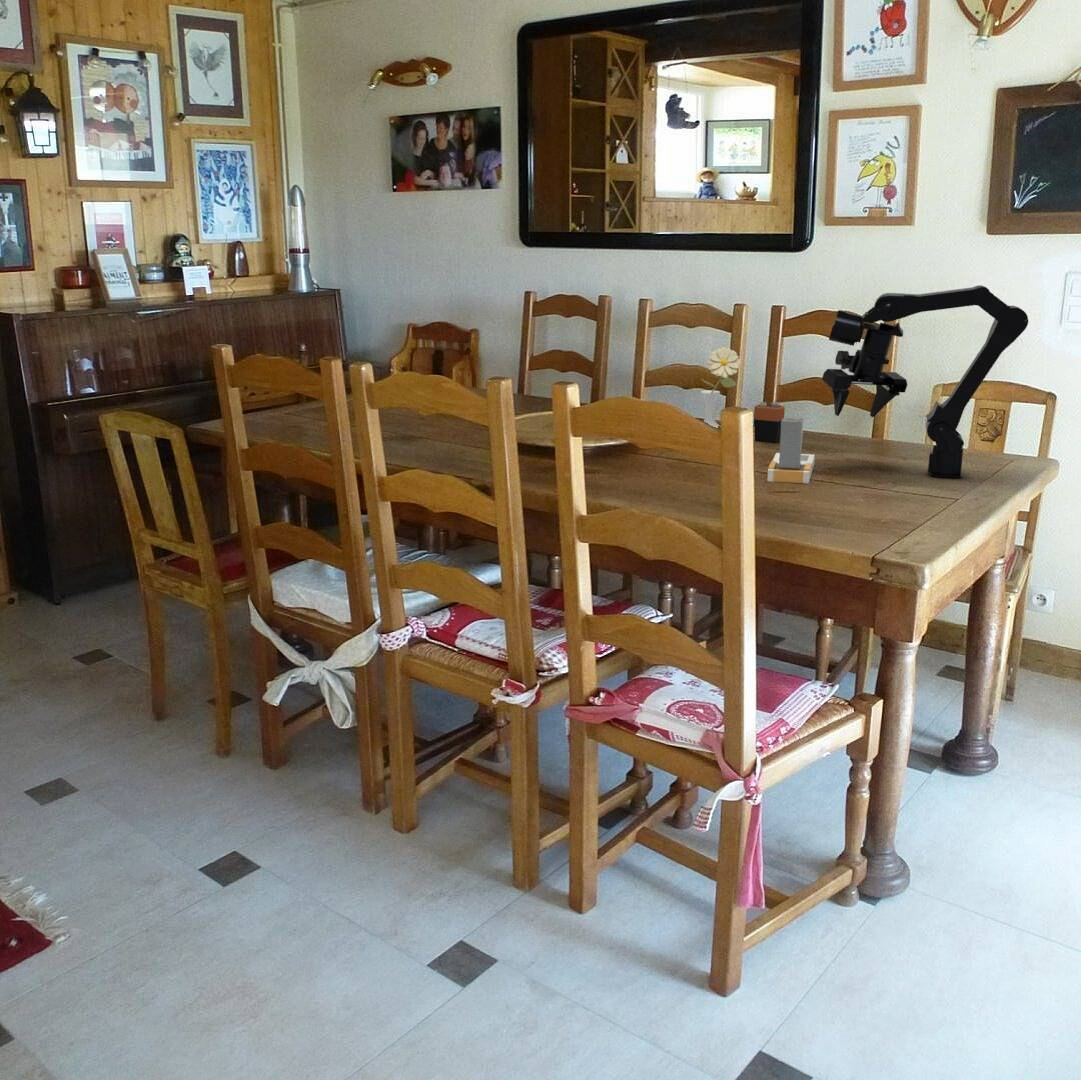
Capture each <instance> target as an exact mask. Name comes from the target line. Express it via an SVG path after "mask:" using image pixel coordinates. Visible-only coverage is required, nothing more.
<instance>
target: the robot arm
mask: <svg viewBox="0 0 1081 1080" xmlns="http://www.w3.org/2000/svg"><path fill="white" fill-rule="evenodd" d="M970 306H971V307H972V306H978V307H979V308H980V309H982V310H983V311H984V312H985V313H986V314H988V315H990V317H992V318H993V319H994V320H993V322H992V324H991V327H990V329H989V332H988V334H987V337H986V340H985V342H984V344H983V345H982V347H981V348H980V350H979V352H978V353H977V354H976V356H975V357H974V359H973V360H972V362H971V364H970V365H969V367H968V368H967V369H966V371H965V372H964V374H963V376H961V379H960V380H959V381H958V383H957V385H956V386H955V387H954V389H953V391H952V392H951V394H950V395H949V396H948V397H947V399H945V400H944V401H943V402H942V403H940V402H938V400H936V401H935V403H934V404H933V406H932V409H931V410H930V412H929V413H927V414H926V415H925V419H926V421H925V430H926V434H927V436H928V438H929V439H930V441H932V442H935V445H934V444H933V445H932V448H931V449H932V450H931V451H929V453H928V461H927V473H929V476H930V477H935V478H936V477H937V478H954V479H957V478H958V479H961V478H963V476H962V464H963V457H964V448H963V446H964V445H965V441H964V439H963V437H962V435H961V434H960V433H959V431H958V430H957V428H958V427H959V424H960V422H961V418H962V416H963V413H964V410H965V408H966V407H967V405H968V403H969V402H970V401H971V400H972V397H973V396H974V394H975V393H976V392H977V390H978V389H979V387H980V385H981V384H982V383H983V381H984V380H985V378H986V377H987V375H988V374H989V372H990V371H991V370H992V368H993V366H994V365H995V363H996V362H997V360H998V359H999V358H1000V356H1001V355H1002V353H1003V352H1004V351H1005V350H1006V349H1007V348H1009V346H1010V345H1011V344H1013V343H1014V342H1015V341H1016V340H1017V339H1018V338H1019V337H1020V335H1021V334H1023V332H1024V331H1026V330H1027V327H1028V325H1029V317H1028V314H1027V312H1026V311H1025V310H1023V309H1022V308H1020V307H1019V306H1016V305H1008V304H1006V303H1005V302H1004V301H1002V300H1001V299H1000V298H998V297H997V296H996V295H995V294H994V293H992V292H991V291H990V289H989V288H988V287H986V286H985V285H980V284H978V285H975V286H973V287H965V288H957V289H950V290H941V291H935V292H928V293H927V292H926V293H921V294H920V293H918V294H916V293H903V292H902V293H901V292H899V293H897V292H886V293H882V294H880V295H879V296H878V297H877V298H876V299H875V302H874V306H873V307H872V308H870V309H868V311H865V312H864V314H862V315H859V314H855V313H850V312H847V311H845V310H843V309H842V310H841V309H839V310H838V311H837V313H836V317H835V321H834V323H833V324H832V328H831V331H830V335H829V338H828V341H831V342H835V343H839V344H844V345H849V346H853V347H854V346H855V344H857V343H858V344H859V343H861V340H862V337H863V334H864V331H865V330H866V332H865V335H864V339H863V342H862V346H861V349H857V350H856V351H855V353H854V355H852V354H851V355H850V353H849V351H848V350H838V351H837V354H836V356H835V364H836V365H837V366H840V368H839V369H837V368H827V369H826V370H824V372H823V375H822V377H821V380H822V381H823V382H824V383H825V384H826V385H827V386H828V387H830V388H831V390H832V395H833V405H834V415H835V416H836V417H838V416H840V414H841V412H842V411H843V408H844V406H845V404H846V402H847V399H848V397H849V394H850V390H849V388H850V387H851V386H852V385H865V386H866V385H868V386H869V385H870V386H875V388H876V392H875V393H876V394H875V397H874V400H873V402H872V406H871V409H870V414H869V416H870V417H871V418H874V417H876V415H878V413H880V411H881V410H882V409H883V408H884V407H885V406H886V405H887V404H889V403H890V402H891V401H892V400H893V399H894V398H895V397H896V396H897V397H898V396H900V393H906V391H907V388H908V381H907V379H906V378H905V377H904V376H902V375H900V374H899V373H898V372H895V371H893V372H892V371H883V369H884V366H885V365H889V362H890V359H889V358H887V357H888V353H889V350H890V347H891V344H892V341H893V339H894V336H895V337H899V338H903V336H904V330H903V329H902V327H901V326H900V325H901V324H900V322H896V323H895V324H889V323H890V322H893V321H896V320H897V321H898V320H900V319H904V318H907V317H910V316H912V315H916V314H919V313H923V312H924V313H925V312H932V311H940V310H941V311H942V310H946V309H956V308H963V307H970ZM879 321H881V322H879ZM876 322H879V324H874V323H876ZM884 322H885V323H884ZM888 322H889V323H888ZM847 369H848V372H849V373H853V374H848V373H847V372H846V371H844V370H847Z"/></svg>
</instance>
